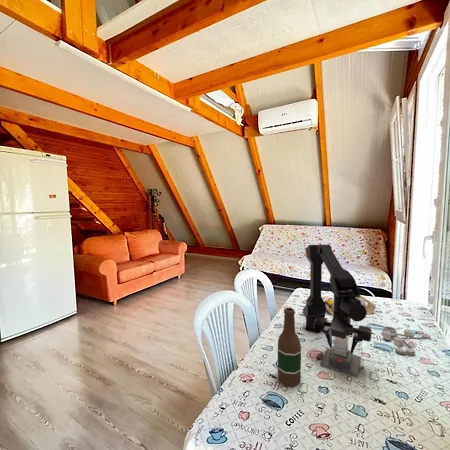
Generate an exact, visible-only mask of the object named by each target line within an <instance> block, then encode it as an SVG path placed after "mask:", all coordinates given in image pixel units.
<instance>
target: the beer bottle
mask: <svg viewBox="0 0 450 450" xmlns="http://www.w3.org/2000/svg"><path fill="white" fill-rule="evenodd" d="M283 314H284V315H283V316H284V317H283V318H284V319H283V330H282V332H281V333H280V334H279V337H278V339H277V379H278V380H277V381H278V382H279V383H280V382H281V384H282V385H283V386H285V387H291V388H293V387H294V388H295V387H297V386H298V385H299V384H301V380H302V379H301V378H302V377H301V376H302V375H301V374H302V370H301V369H302V346H301V342H300V338H299V335H298V334H297V333H296V325H295V324H296V323H295V321H296V320H295V314H296V311H295V309H294V308H292V307H285V308H284V310H283Z"/></svg>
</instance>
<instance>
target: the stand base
mask: <svg viewBox="0 0 450 450" xmlns="http://www.w3.org/2000/svg"><path fill="white" fill-rule="evenodd" d="M361 361H362V356H360V355H355V354H354V352H353V353H352V354H351V350H349V349H348V357H347V358H344V357H340V356H337V355H334V345H332V348H330V347H326V349H325V351H324V353H323V356H322V358H321V360H320V362H319V366H320V367H323V368H326V369H329V370H332V371H335V372H339V373H342V374H345V375H348V376H351V377H355V378H358V376H359V372H360V371H359V370H360V365H361Z"/></svg>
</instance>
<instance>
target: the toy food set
mask: <svg viewBox="0 0 450 450" xmlns="http://www.w3.org/2000/svg"><path fill="white" fill-rule="evenodd" d="M356 299H359V300H360V301H361V305H363V306H364V307H365V308H366V311H367V314H366V316H368V315H372V314H373V313H374V312H375V310H376V303H375V304H374V302H372V301H370V300H368V299H367V298H365V297H364V296H362V295H361V294H360V297H356ZM324 302H325V303H326V312H328V313H329V314H330V315H332V316H333V311H334V299H333V300H331V299H325V300H324ZM366 303H367V304H366Z"/></svg>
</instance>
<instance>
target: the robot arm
mask: <svg viewBox="0 0 450 450" xmlns="http://www.w3.org/2000/svg"><path fill="white" fill-rule="evenodd" d="M305 255H306V259H307V260H308V262H309V264H310V267H309V268H310V270H309V271H310V273H309V277H310V278H309V280H310V281H309V283H310V286H309V287H310V288H309V289H310V290H309V291H310V292H309V296H308V297H307V299H306V301H305V306H304V307H303V309H302V314H303V317H305V328H304V331H306V332H307V331H308V332H312V333H316V334H320V333H323V334H324V335H325V338H326V340H327V344H328V345H329V348H330V349H332V347H333V337H334V338H335V337H339V338H342V339H345V338H346V336H347V337H350V336H351V337H352V343H351V347H350V351H351V354H352V353H353V354H354V350H355V348H356V346H357V344H359V342H363V341H365V342H368V343H369V342H371V341H372V333H373V331H372V328H371V327H369V326H365V325H361V324H360V325H358V327H354V325H353V324H351V320H352V321H353V322H361V321H363V320H364V319H366V316H367V315H366V314H367V311H366V308H365V307H364V306H363V305H361V301H360V300H359V299H356V297H360V295H361V294H360V291H361V290H360V289H359V286H358V284H357V282H356V279H355V278H354V276H353V275H352V274H351V273H350V271H348V270H346V269H345V268H343V267H342V264H341V263H340V262H339V260H338V258H337V257H336V255H335V253H334V251H333V249H332V245H331V244H309V245H308V246H307V247H305ZM323 264H324V265H325V267H326V269H327V271H328V273H329V275H330V277H329V283H330V286H331V289H332V290H331V293H332V294H333V300H334V311H333V315H332V319H331V322H330V321H328V317H326V315H327V314H326V312H327V310H326V303H325V300H324V299H323V297H322V268H323V267H322V266H323Z"/></svg>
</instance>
